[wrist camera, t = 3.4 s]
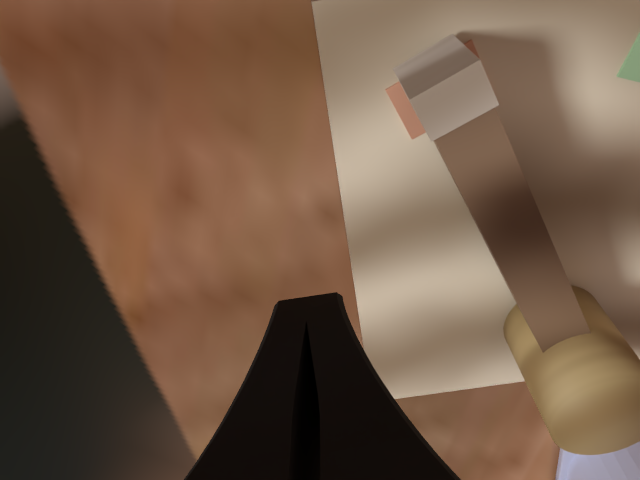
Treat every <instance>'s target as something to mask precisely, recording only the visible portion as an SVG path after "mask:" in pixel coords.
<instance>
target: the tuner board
mask: <svg viewBox="0 0 640 480" xmlns="http://www.w3.org/2000/svg"><path fill="white" fill-rule="evenodd" d="M311 1H312V8H313V14H314V21H315V28H316V34H317V41H318V48H319V54H320V61H321V67H322V74H323V81H324V87H325V94H326V101H327V107H328V114H329V121H330V127H331V134H332V140H333V147H334V154H335V160H336V167H337V174H338V180H339V187H340V194H341V200H342V207H343V213H344V220H345V227H346V233H347V240H348V247H349V253H350V260H351V267H352V273H353V280H354V286H355V293H356V300H357V306H358V313H359V320H360V326H361V333H362V340H363V346H364V351H365V353H366V355H367V357H368V358H369V360H370V362H371V364H372V365H373V367H374V369H375V370H376V372H377V374H378V375H379V377H380V378H381V380H382V381H383V383H384V384H385V386H386V387H387V389H388V390H389V392H390V393H391V395H392V396H393V398H394V399H398V398H405V397H412V396H420V395H427V394H434V393H441V392H449V391H456V390H463V389H471V388H478V387H485V386H492V385H500V384H507V383H514V382H522V381H525V380H524V378H523V376H522V374H521V371H520V369H519V367H518V365H517V363H516V361H515V359H514V357H513V354H512V352H511V350H510V348H509V346H508V344H507V342H506V340H505V337H504V331H503V328H504V323H505V320H506V317H507V315H508V314H509V312H510V311H511V309H512V308H513V307H514V306H515V305H516V302H515V300H514V298H513V296H512V294H511V292H510V290H509V288H508V286H507V284H506V282H505V280H504V278H503V276H502V274H501V272H500V270H499V268H498V266H497V264H496V263H495V261H494V259H493V257H492V255H491V253H490V251H489V249H488V247H487V245H486V243H485V241H484V239H483V237H482V235H481V233H480V231H479V229H478V227H477V225H476V223H475V221H474V220H473V218H472V216H471V214H470V212H469V210H468V208H467V206H466V204H465V202H464V200H463V198H462V196H461V194H460V192H459V190H458V188H457V186H456V184H455V182H454V180H453V178H452V176H451V175H450V173H449V171H448V169H447V167H446V165H445V163H444V161H443V159H442V157H441V155H440V153H439V151H438V149H437V147H436V145H435V143H434V141H432V142H431V140H430V138H429V137H428V135H427V133H426V132H425V133H424V134H422V135H420V136H418V137H416V138H415V139H413V140H412V139H411V137H410V135H409V133H408V131H407V130H406V128H405V126H404V124H403V122H402V120H401V118H400V116H399V115H398V113H397V111H396V109H395V107H394V105H393V103H392V102H391V100H390V98H389V96H388V94H387V92H386V90H385V89H387V88H388V87H390V86H392V85H394V84H395V83H397V82H399V80H398V78H397V76H396V74H395V72H394V70H393V68H395V67H396V66H398V65H400V64H401V63H403V62H405V61H407V60H408V59H410V58H412V57H413V56H415V55H417V54H418V53H420V52H422V51H423V50H425V49H427V48H429V47H430V46H432V45H434V44H435V43H437V42H439V41H440V40H442V39H444V38H446V37H447V36H449V35H451V34H453V35H454V36H455V37H456V38H457V39H458V40H459V41H461V42H462V43H463V44H464V43H466V42H467V41H469V40H472V41H473V44H474V46H475V48H476V51H477V53H478V55H479V58H480V60H481V63H482V65H483V67H484V70H485V72H486V75H487V77H488V79H489V82H490V84H491V87H492V89H493V91H494V94H495V96H496V99H497V101H498V103H499V105H498V106H497V107H495V108H496V110H497V113H498V115H499V117H500V120H501V122H502V124H503V127H504V129H505V131H506V134H507V136H508V139H509V141H510V143H511V146H512V148H513V150H514V153H515V155H516V157H517V160H518V162H519V165H520V167H521V169H522V172H523V174H524V176H525V179H526V181H527V183H528V186H529V188H530V190H531V193H532V195H533V198H534V200H535V202H536V205H537V207H538V209H539V212H540V214H541V216H542V219H543V221H544V223H545V226H546V228H547V231H548V233H549V235H550V238H551V240H552V242H553V245H554V247H555V249H556V252H557V254H558V257H559V259H560V261H561V264H562V266H563V268H564V271H565V273H566V275H567V278H568V280H569V282H570V285H571V286H576V287H580V288H582V289H585V290H586V291H588V292H589V293H591V294H592V295H593V297H594V298H595V299H596V300H597V302H598V303H599V305H600V306H601V307H602V309H603V310H604V311H605V313H606V314H607V315H608V317H609V318H610V319H611V321H612V322H613V324H614V325H615V326H616V328H617V329H618V330H619V332H620V333H621V334H622V336H623V337H624V339H625V340H626V341H627V343H628V344H629V345H630V347H631V348H632V349H633V351H634V352H635V354H636V355H637V356H638V358H639V359H640V82H636V81H632V80H628V79H623V78H619V77H617V74H618V72H619V70H620V68H621V66H622V64H623V63H624V61H625V59H626V57H627V55H628V53H629V51H630V49H631V47H632V46H633V44H634V42H635V40H636V38H637V36H638V34H639V32H640V0H311Z"/></svg>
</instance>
